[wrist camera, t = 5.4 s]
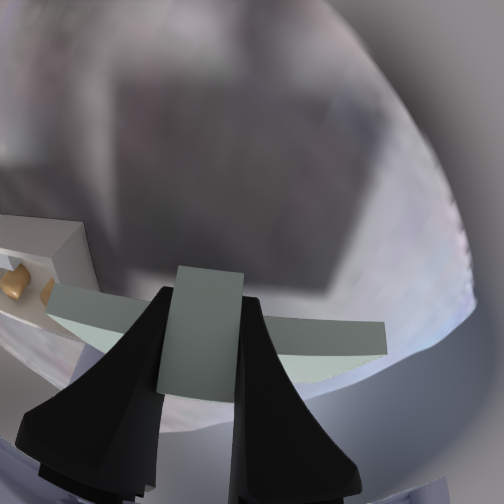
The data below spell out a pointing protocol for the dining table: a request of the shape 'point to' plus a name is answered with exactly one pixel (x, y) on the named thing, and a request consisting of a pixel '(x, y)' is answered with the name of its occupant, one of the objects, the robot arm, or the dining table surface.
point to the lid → (216, 334)
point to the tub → (41, 267)
